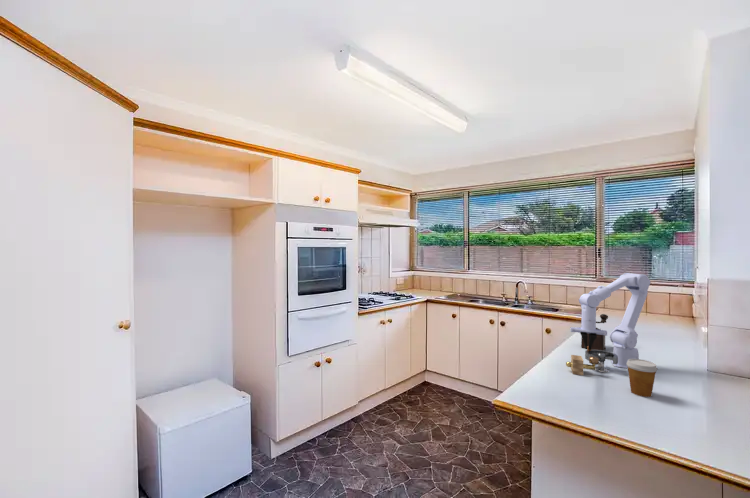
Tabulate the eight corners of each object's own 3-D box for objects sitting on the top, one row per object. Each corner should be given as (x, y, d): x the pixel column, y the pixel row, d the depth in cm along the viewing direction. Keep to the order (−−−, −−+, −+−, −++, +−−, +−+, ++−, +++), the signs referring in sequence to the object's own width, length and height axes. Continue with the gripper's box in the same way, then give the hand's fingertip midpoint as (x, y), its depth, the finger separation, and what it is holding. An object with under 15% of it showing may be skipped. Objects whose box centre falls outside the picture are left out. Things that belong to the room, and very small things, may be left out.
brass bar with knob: (597, 369, 153) (598, 357, 153) (599, 372, 150) (599, 359, 150) (565, 365, 158) (565, 353, 158) (566, 367, 155) (566, 355, 155)
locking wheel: (620, 364, 152) (620, 354, 151) (587, 361, 156) (587, 350, 156) (612, 357, 161) (613, 347, 161) (582, 354, 165) (582, 344, 165)
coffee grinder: (604, 352, 184) (605, 318, 183) (580, 348, 191) (581, 315, 190) (608, 345, 196) (608, 314, 195) (585, 342, 203) (586, 311, 202)
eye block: (581, 370, 157) (581, 355, 157) (583, 375, 151) (583, 360, 151) (570, 368, 159) (571, 354, 159) (572, 374, 153) (572, 359, 152)
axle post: (607, 368, 159) (607, 359, 159) (610, 373, 154) (610, 363, 154) (592, 366, 162) (592, 357, 161) (594, 371, 156) (594, 361, 156)
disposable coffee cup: (652, 391, 136) (653, 360, 135) (660, 401, 127) (661, 368, 127) (623, 386, 140) (623, 357, 139) (628, 396, 131) (629, 364, 131)
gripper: (605, 319, 162) (604, 348, 162) (569, 316, 168) (569, 344, 168) (608, 322, 155) (607, 352, 156) (571, 319, 161) (570, 348, 161)
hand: (587, 349), depth 161 cm, fingers closed
